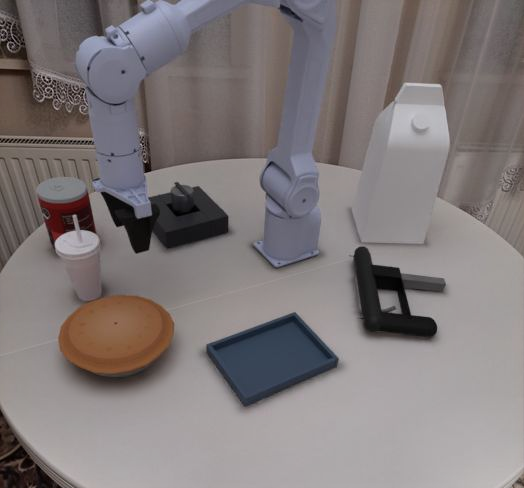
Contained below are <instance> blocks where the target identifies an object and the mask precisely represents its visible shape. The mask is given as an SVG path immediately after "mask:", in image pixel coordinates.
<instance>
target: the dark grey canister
mask: <svg viewBox="0 0 524 488" xmlns="http://www.w3.org/2000/svg"><path fill="white" fill-rule="evenodd" d="M173 184H174V186H173V187H171V189H170V192H171V198H172V211H173V213H174V215H175V216H176V217H178V216H182V215H186V214H190V213H194V195H193V188H192V187H193V186H190V185H187V184H180V183H179V181H175V182H173Z"/></svg>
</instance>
